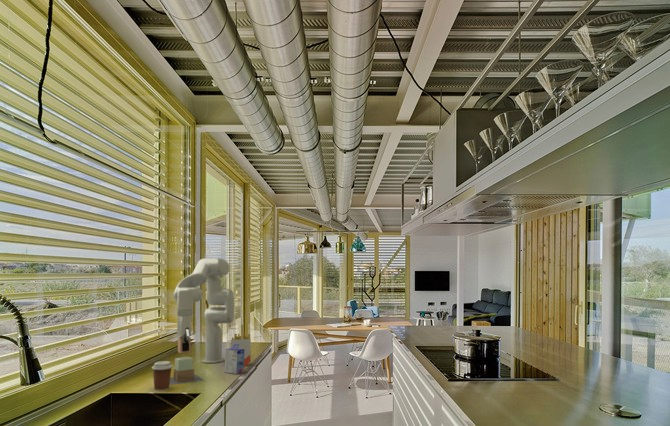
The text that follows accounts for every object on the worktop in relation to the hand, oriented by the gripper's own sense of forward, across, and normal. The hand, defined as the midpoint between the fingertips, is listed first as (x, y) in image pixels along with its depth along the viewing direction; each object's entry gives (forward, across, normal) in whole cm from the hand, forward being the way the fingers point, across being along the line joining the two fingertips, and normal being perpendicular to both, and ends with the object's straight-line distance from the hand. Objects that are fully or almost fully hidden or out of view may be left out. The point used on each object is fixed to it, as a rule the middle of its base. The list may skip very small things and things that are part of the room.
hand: (184, 349), depth 237 cm
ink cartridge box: (+15, -2, +27) cm, 31 cm away
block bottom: (+14, 0, 0) cm, 14 cm away
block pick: (+1, 0, 0) cm, 1 cm away
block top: (+9, 0, 0) cm, 9 cm away
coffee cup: (+15, +13, -13) cm, 24 cm away
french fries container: (+15, -18, +36) cm, 43 cm away
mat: (+15, 0, 0) cm, 15 cm away
